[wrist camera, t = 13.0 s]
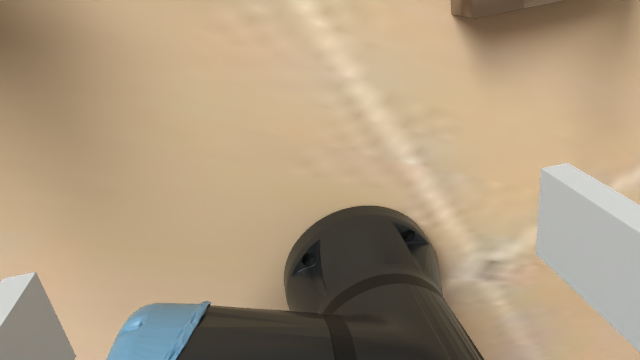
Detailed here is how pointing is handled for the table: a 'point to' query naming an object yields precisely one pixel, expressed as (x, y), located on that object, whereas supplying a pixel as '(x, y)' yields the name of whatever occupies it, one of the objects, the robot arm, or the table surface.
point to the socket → (491, 6)
